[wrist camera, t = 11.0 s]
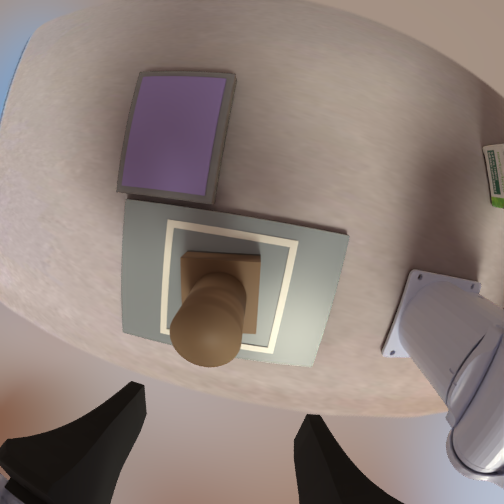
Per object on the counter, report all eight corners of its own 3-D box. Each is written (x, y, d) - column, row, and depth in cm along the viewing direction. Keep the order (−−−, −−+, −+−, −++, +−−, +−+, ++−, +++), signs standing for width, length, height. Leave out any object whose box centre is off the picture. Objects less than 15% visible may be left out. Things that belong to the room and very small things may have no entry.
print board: (347, 234, 19) (349, 236, 18) (310, 363, 21) (312, 367, 21) (128, 198, 18) (125, 199, 18) (125, 329, 21) (122, 332, 20)
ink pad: (236, 80, 16) (235, 72, 15) (214, 203, 18) (210, 204, 17) (145, 77, 16) (138, 71, 15) (123, 191, 18) (114, 192, 17)
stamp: (260, 254, 19) (261, 293, 12) (256, 320, 20) (254, 381, 13) (188, 250, 19) (151, 284, 12) (189, 315, 20) (160, 371, 13)
